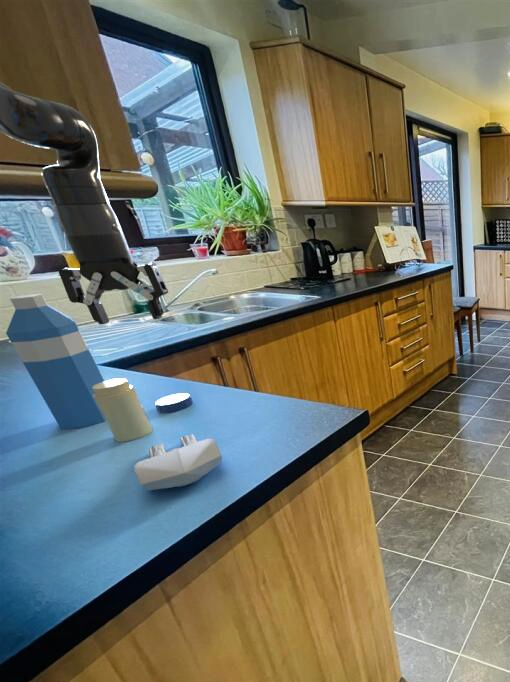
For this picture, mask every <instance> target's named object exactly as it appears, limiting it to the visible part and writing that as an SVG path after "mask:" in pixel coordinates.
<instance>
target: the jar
mask: <svg viewBox="0 0 510 682" xmlns="http://www.w3.org/2000/svg"><path fill="white" fill-rule="evenodd" d="M92 389H93V390H92V391H93V392H94V393H95V394H94V395H93V398H94V400H95V402H96V404H97V406H98V408H99V409H100V411H101V413H102V415H103V417H104V419H105V421H104V422H105V423H106V426H107V427H108V429H109V431H110V433H111V434H112V437H113V439H114V440H115V441H116V442H118V443H119V442H120V443H124V442H130V441H134V440H138V439H141V438H143V437H145V436H147V435H149V434H150V433H151V432H153V430H154V429H153V426H152V424H151V422H150V420H149V418H148V415H147V413H146V411H145V408H144V407H143V405H142V403H141V401H140V398H139V396H138V394H137V391H136V389H135V388H134V386H133V385H131V384H130V383H129V380H128V379H127V378H124V377H123V378H122V377H121V378H112V379H108V380H104V382H101V383H98V384H96V385H94V386H93V387H92Z"/></svg>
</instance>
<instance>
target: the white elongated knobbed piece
mask: <svg viewBox="0 0 510 682" xmlns="http://www.w3.org/2000/svg"><path fill="white" fill-rule="evenodd" d="M179 442H180V443H181V445H182V446H181V447H178V448H176V447H175V448H173V449H172V450H170V451H167V449H166V447H165V445H164V444H163V443H161V444H159V443H158V444H155V445H152V446H150V447H148V453H149V458H146V459H142V460H139V461H137V463H136V464H135V465H134V467H133V470H134V471H135V474H136V477H137V479H138V481H139V483H140V485H141V486H143V487H144V488H145V489H146V490H147V491H154V490H162V489H169V488H174V487H175V488H176V487H177V488H180V487H185V486H188V485H191V484H193V483H195V482H198V481H199V480H200V479H202V477H203V476H205V475H207V474H208V473H209V472H211V471H212V470H214V469H215V468H217V467H218V466H220V465H221V464H222V458H223V457H222V456H223V455H222V452H221V450H220V448H219V446H218V444H217V441H216V440H215V439H213V438H205V439H202V440H199V441H198V439H197V438H196V436H195V435H194V434H193V433H191V434H186V435H183V436H182V437H180V438H179Z"/></svg>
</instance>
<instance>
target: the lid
mask: <svg viewBox="0 0 510 682" xmlns="http://www.w3.org/2000/svg"><path fill="white" fill-rule="evenodd" d="M154 404H155V408H156V410H157V412H159V413H161V412H169V413H173V412H172V411H175V412H178V411H177V410H179V411H182V410H184V409H186V408H188V407H190V406H192V404H193V399H192V396H191V395H190V393H187V392H186V393H184V392H180V393H174V394H169V395H167V396H163V397H161V398H159V399H158V400H156V401H155V402H154ZM189 405H190V406H189ZM183 408H184V409H183ZM181 409H182V410H181Z"/></svg>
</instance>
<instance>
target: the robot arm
mask: <svg viewBox="0 0 510 682" xmlns="http://www.w3.org/2000/svg"><path fill="white" fill-rule="evenodd" d="M0 133H2V134H4V135H5V136H8V137H9V138H11V139H14V140H16V141H18V142H21V143H24V144H27V145H30V146H34V147H38V148H44V149H51V150H55V151H56V160H57V161H56V163H57V164H53V165H48V166H45V167H43V168H42V169H41V178H42V181H43V183H44V186H45V187H46V189H47V191H48V194H49V197H50V198H51V200H52V203H53V205H54V209H55V211H56V214H57V219H58V221H59V224H60V226H61V230H62V232H63V233H64V234H65V237H66V240H67V242H68V244H69V246H70V249H71V251H72V253H73V255H74V258H75V260H76V261H77V262H78V264H79V268H74V267H64V268H61V269H59V270H58V275H59V277H60V279H61V282H62V285H63V287H64V289H65V292H66V295H67V298H68V300H69V301H70V302H71V303H74V304H76V303H79V304H84V305H85V306H86V307H87V309H88V311H89V313H90V316H91V317H92V319H93V321H94V322H97V323H98V324H99V325H107V324H108V323H110V318H109V316H108V314H107V312H106V310H105V307H104V305H103V303H102V302H100V300H101V297H102V295H103V294H104V293H105V292H111V291H113V290H118V291H119V290H121V291H127V290H129V289H130V290H131V291H132V292H134V293H137V294H139V295H140V296H142V297H143V298H144V299H146V305H147V307H148V310H149V312H150V314H151V317H152V319H153V320H160V319H161V318H163V315H164V313H165V312H164V308H163V307H162V303H161V301H160V297H163V296H165V295H167V294H168V293H169V289H168V287H167V284H166V282H165V280H164V278H163V276H162V274H161V271H160V269H159V267H158V265H157V264H156V263H155V262H150V263H146V264H141V265H140V264H139V265H138V264H137V263H136V262H135V261H134V258H133V255H132V252H131V249H130V247H129V244H128V242H127V239H126V236H125V234H124V232H123V228H122V227H121V224H120V222H119V219H118V217H117V215H116V213H115V211H114V209H113V207H112V206H111V204H110V203H111V202H110V200H109V198H108V196H107V193H106V191H105V187H104V186H103V183H102V181H101V173H100V172H101V170H100V159H99V148H98V141H97V137H96V134H95V131H94V130H93V128H92V126H91V124H90V123H89V120H87V119H86V118H85V116H83V114H81V112H80V111H78V110H77V109H75V108H73V107H72V106H70V105H67V104H65V103H60V102H56V101H52V100H47V99H45V98H44V99H43V98H39V97H35V96H31V95H27V94H25V93H21V92H18V91H15V90H13V89H12V88H11V87H9V86H7V85H6V84H4V83H2V82H1V81H0ZM140 273H142V274H143V275H144V276H145V277H147V278H148V280H149V283H150V284H151V287H152V288H151V287H150V286H149V285H148V284H147V283H146V282H145V281H143V280H141V279H140V278H139V276H140ZM82 277H83V278H85V279H86V280H88V281H89V283H88V286H87V288H86V291H85V292H86V293H85V292H84V289H83V286H82V284H81V281H80V280H81V279H82Z"/></svg>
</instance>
